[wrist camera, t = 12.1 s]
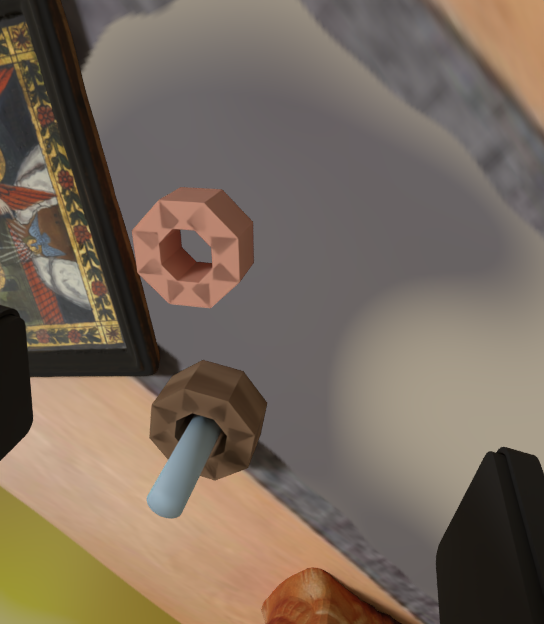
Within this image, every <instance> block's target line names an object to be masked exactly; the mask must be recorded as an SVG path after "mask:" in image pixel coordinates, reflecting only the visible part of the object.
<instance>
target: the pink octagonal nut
mask: <svg viewBox="0 0 544 624" xmlns="http://www.w3.org/2000/svg"><path fill="white" fill-rule="evenodd" d="M180 229H182V230H195V231H196V232H197V233H198V234H199V236H200V237H202V239H203V240H204V241H205V242H207V244H208V245H209V246H210V247H211V249H212V263H204V262H196V261H195V260H194V259H193V258H192V257H191V256H190V255H189V254H188V253H187V252H186V251H185V250H184V249H183V248H182V244H181V234H180ZM132 235H133V242H134V250H135V258H136V265H137V273H138V274H139V275H140V276H141V277H142V278H143V279H144V280H146V282H148V283H149V284H150V285H151V286H152V287H153V288H154V289H155V290H156V291H157V292H158V293H159V294H160V295H161V296H162V297H163V298H164V299H165V300H166V301H167V302H168V303H169V304H175V305H185V306H195V307H204V308H211V307H212V306H214V305H215V304H216V303H217V302H218V301H219V300H220V299H221V298H222V297H224V296H225V295H226V294H227V293H228V292H229V291H230V290H232V289H233V288H234V287H235V286H236V285H237V284H238V283H239V282H240V281H241V280H242V278H243V277H244V276H245V274H246V273H247V271H248V270H249V269H250V267H251V266H252V264H253V263H254V253H253V252H254V251H253V221H251V219H250V218H249V217H248V216H247V215H246V214H245V213H244V212H243V211H242V210H241V209H240V208H239V207H238V206H237V205H236V204H235V202H234V201H233V200H232V199H231V198H230V197H229V196H228V195H227V194H226V193H225V192H224V191H223V190H222V189H204V188H185V187H180V188H179V189H177V190H175V191H173V192H172V193H170V194H168V195H167V196H165V197H163V198H161V199H160V200H158V202H157V203H156V204H155V205H154V206H153V207H152V208H151V209H150V211H149V212H148V213H147V214H146V215H145V216H144V217H143V219H142V220H141V221H140V222H139V223H138V224H137V225H136V226H135V228H134V229H133V230H132Z"/></svg>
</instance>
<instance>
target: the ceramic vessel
mask: <svg viewBox="0 0 544 624" xmlns="http://www.w3.org/2000/svg"><path fill="white" fill-rule="evenodd" d="M261 610H262V614H263V617H264V620H265V623H266V624H402V623H399V622H398V621H396V620H395V619H393V618H392V617H391V616H390V615H388V614H385V613H382V612H380V611H377V610H376V609H375V607H374V606H372V605H370V604H368V603H366V602H363V601H361V600H360V599H359V598H358V597H357V596H355V595H354V594H353V593H351V592H350V591H349V590H347V589H346V588H345V587H344V586H342V585H341V584H340V583H339V582H337V581H336V580H335V579H334V578H333V577H332V576H331V575H330V574H328V573H327V572H326V571H324V570H322V569H319V568H307V569H306V570H304V571H302V572H299V573H297V574H295V575H293V576H291V577H289V578H288V579H286V580H285V581H284V582H282V583H281V584H280V585H279V586H278V587H277V588H276V589H275V590H274V591H273V592H272V594H271V595H270V596H269V597H268V598H267V599H266V600H265V602H264V604H263V606H262V609H261Z"/></svg>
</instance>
